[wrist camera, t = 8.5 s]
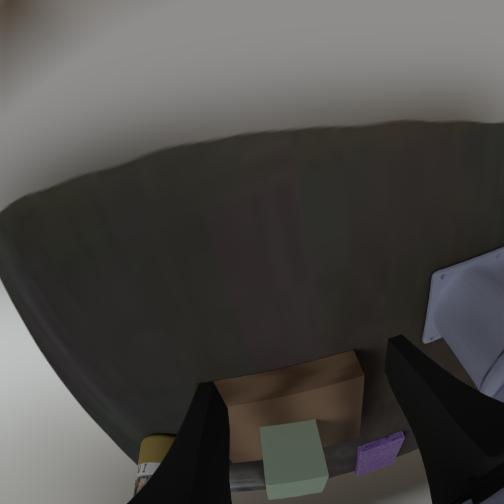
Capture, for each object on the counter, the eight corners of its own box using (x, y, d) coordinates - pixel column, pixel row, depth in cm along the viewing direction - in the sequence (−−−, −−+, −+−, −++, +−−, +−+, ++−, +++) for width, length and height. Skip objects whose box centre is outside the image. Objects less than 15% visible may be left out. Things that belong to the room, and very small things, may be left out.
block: (315, 419, 24) (328, 475, 18) (311, 442, 26) (322, 491, 21) (259, 427, 24) (265, 485, 18) (263, 449, 26) (268, 499, 20)
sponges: (401, 427, 34) (405, 437, 32) (391, 456, 40) (394, 464, 38) (356, 443, 34) (359, 453, 33) (353, 469, 40) (356, 477, 38)
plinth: (353, 349, 24) (364, 375, 21) (352, 416, 29) (358, 437, 27) (195, 383, 25) (193, 410, 22) (232, 441, 30) (233, 463, 27)
